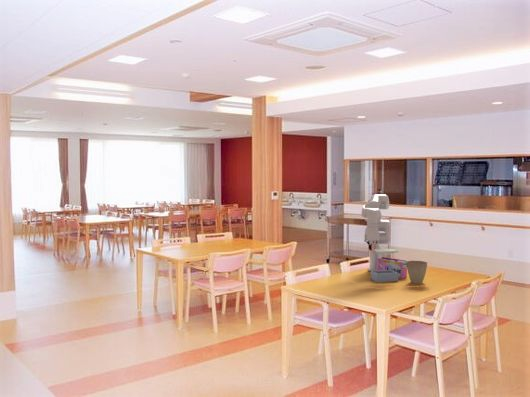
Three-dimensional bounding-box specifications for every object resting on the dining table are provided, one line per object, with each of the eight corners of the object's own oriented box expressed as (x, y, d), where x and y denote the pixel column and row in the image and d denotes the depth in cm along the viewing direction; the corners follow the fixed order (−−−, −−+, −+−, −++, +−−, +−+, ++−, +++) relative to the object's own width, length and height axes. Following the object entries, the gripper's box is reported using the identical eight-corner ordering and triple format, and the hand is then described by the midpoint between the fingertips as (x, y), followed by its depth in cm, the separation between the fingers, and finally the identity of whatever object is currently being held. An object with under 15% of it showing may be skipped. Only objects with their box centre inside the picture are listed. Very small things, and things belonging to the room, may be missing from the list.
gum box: (375, 274, 405) (375, 258, 404) (381, 273, 410) (381, 256, 410) (401, 279, 387) (401, 261, 387) (407, 277, 393) (407, 260, 392)
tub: (370, 280, 384) (370, 270, 384) (391, 279, 388) (391, 270, 388) (376, 283, 374) (377, 273, 373) (397, 282, 377) (398, 272, 377)
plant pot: (428, 282, 375) (429, 261, 374) (424, 286, 362) (425, 264, 361) (408, 280, 382) (408, 259, 382) (403, 284, 369) (404, 262, 368)
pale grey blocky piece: (367, 252, 383) (367, 241, 382) (391, 251, 387) (391, 241, 387) (373, 254, 372) (373, 243, 372) (397, 253, 376) (398, 243, 376)
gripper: (379, 224, 382) (379, 248, 383) (360, 225, 378) (359, 249, 379) (384, 225, 375) (383, 250, 376) (364, 226, 371) (364, 251, 372)
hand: (371, 249), depth 378 cm, fingers closed on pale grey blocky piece
